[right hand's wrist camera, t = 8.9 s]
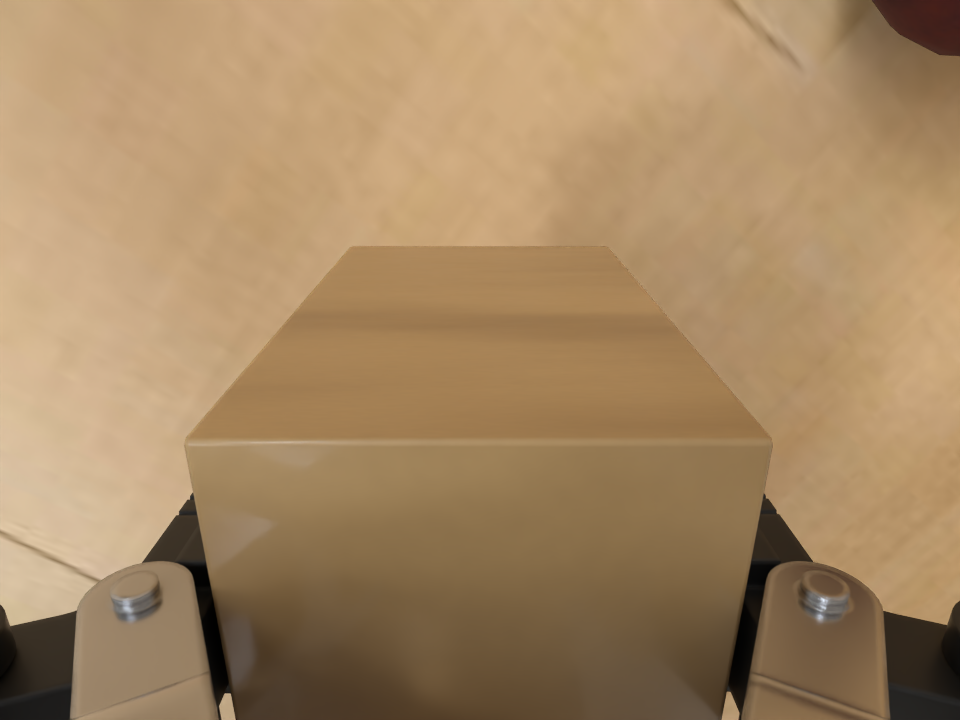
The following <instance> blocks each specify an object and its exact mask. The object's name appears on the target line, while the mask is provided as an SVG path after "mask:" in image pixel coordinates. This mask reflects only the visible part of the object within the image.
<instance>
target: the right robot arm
mask: <svg viewBox="0 0 960 720" xmlns="http://www.w3.org/2000/svg"><path fill="white" fill-rule="evenodd" d="M727 692H731V693H732V696H733V698H734V701H735V703H736V705H737V708H738V710H739V712H740V714H739V719H738V720H960V601H959V602H958V603H956V604H955V606H954V608H953V610H952V613H951V616H950V619H949V622H948V625H943V624H939V623H934V622H930V621H925V620H920V619H916V618H911V617H907V616H902V615H898V614H893V613H889V612H886V611H883V609H882V606H881V603H880V601H879V600H878V598H877V597H876V596H875V594H874V593H873V592H872V591H871V590H870V589H869V588H868V587H867V586H865V585H864V584H863V583H862V582H860V581H859V580H857V579H856V578H854V577H853V576H851V575H849V574H847V573H845V572H843V571H841V570H838V569H836V568H833V567H830V566H827V565H824V564H819V563H815V562H813V561H812V559H811V558H810V557H809V555H808V554H807V552H806V551H805V550H804V548H803V547H802V545H801V544H800V543H799V541H798V540H797V538H796V537H795V536H794V534H793V533H792V531H791V530H790V529H789V527H788V526H787V524H786V523H785V522H784V520H783V519H782V517H781V516H780V515H779V514H777V513H776V509H775V508H774V506H773V505H772V503H771V502H770V501H769V499H766V495H765V494H764V495H763V500H762V505H761V511H760V516H759V521H758V527H757V532H756V537H755V543H754V548H753V553H752V559H751V564H750V569H749V575H748V580H747V585H746V591H745V596H744V602H743V607H742V612H741V618H740V623H739V628H738V634H737V639H736V644H735V650H734V655H733V660H732V666H731V671H730V676H729V682H728V687H727ZM224 693H231V691H230V686H229V680H228V675H227V670H226V664H225V659H224V654H223V648H222V643H221V638H220V632H219V627H218V622H217V616H216V611H215V606H214V600H213V595H212V590H211V584H210V579H209V574H208V568H207V563H206V558H205V552H204V547H203V542H202V536H201V531H200V526H199V520H198V515H197V510H196V504H195V499H194V494H193V493H192V494H191V496H190V500H187V501H186V503H185V504H184V505H183V507H182V508H181V510H180V511H179V515H176V517H175V518H174V519H173V521H172V522H171V523H170V525H169V526H168V528H167V529H166V530H165V532H164V533H163V535H162V536H161V537H160V539H159V540H158V541H157V543H156V544H155V546H154V547H153V548H152V550H151V551H150V553H149V554H148V555H147V557H146V558H145V559H144V561H143V562H142V563H141V564H136V565H133V566H130V567H127V568H124V569H122V570H119V571H117V572H115V573H113V574H111V575H109V576H107V577H106V578H104V579H103V580H101V581H100V582H98V583H97V584H96V585H95V586H93V587H92V588H91V589H90V590H89V591H88V592H87V593H86V594H85V596H84V597H83V598H82V600H81V601H80V603H79V606H78V609H77V611H74V612H71V613H67V614H64V615H60V616H55V617H51V618H46V619H41V620H37V621H32V622H28V623H23V624H19V625H14V626H10V625H9V622H8V619H7V616H6V613H5V610H4V609H3V607H2V606H1V605H0V720H222V719H221V714H220V709H219V705H220V702H221V700H222V698H223V695H224Z"/></svg>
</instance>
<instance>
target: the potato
mask: <svg viewBox="0 0 960 720" xmlns="http://www.w3.org/2000/svg"><path fill="white" fill-rule="evenodd" d="M872 1H873V2H874V4H875V5H876V7H877V8H878V9H879V11H880V12H881V13H882V15H883V16H884V18H885V19H886V20H887V22H888V23H889V25H890V26H891V27H892V28H893V29H895V30H896V31H897V32H898V33H899V34H900V35H902V36H904V37H906V38H908V39H910V40H912V41H914V42H916V43H917V44H919V45H921V46H923V47H925V48H927V49H929V50H931V51H933V52H935V53H937V54H939V55H950V56H960V0H872Z"/></svg>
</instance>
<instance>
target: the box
mask: <svg viewBox="0 0 960 720" xmlns="http://www.w3.org/2000/svg"><path fill="white" fill-rule="evenodd" d="M772 446H773V443H772V439H771V437H770V436H769V435H768V434H767V433H766V431H765V430H764V429H763V428H762V427H761V426H760V424H759V423H758V422H757V421H756V420H755V419H754V417H753V416H752V415H751V414H750V413H749V411H748V410H747V409H746V408H745V407H744V406H743V404H742V403H741V402H740V401H739V400H738V399H737V397H736V396H735V395H734V394H733V393H732V392H731V390H730V389H729V388H728V387H727V386H726V385H725V383H724V382H723V381H722V380H721V379H720V378H719V376H718V375H717V374H716V373H715V372H714V371H713V369H712V368H711V367H710V366H709V365H708V364H707V362H706V361H705V360H704V359H703V358H702V357H701V355H700V354H699V353H698V352H697V351H696V350H695V348H694V347H693V346H692V345H691V344H690V343H689V341H688V340H687V339H686V338H685V337H684V336H683V334H682V333H681V332H680V331H679V330H678V329H677V327H676V326H675V325H674V324H673V323H672V322H671V320H670V319H669V318H668V317H667V316H666V315H665V313H664V312H663V311H662V310H661V309H660V308H659V306H658V305H657V304H656V303H655V302H654V301H653V299H652V298H651V297H650V296H649V295H648V294H647V292H646V291H645V290H644V289H643V288H642V287H641V285H640V284H639V283H638V282H637V281H636V280H635V278H634V277H633V276H632V275H631V274H630V273H629V271H628V270H627V269H626V268H625V267H624V266H623V264H622V263H621V262H620V261H619V260H618V258H617V257H616V256H615V255H614V254H613V253H612V251H611V250H610V249H609V248H608V247H404V246H353V247H350V248H349V249H348V251H347V252H346V253H345V254H344V255H343V256H342V257H341V259H340V260H339V261H338V262H337V263H336V264H335V266H334V267H333V268H332V269H331V270H330V271H329V273H328V274H327V275H326V276H325V277H324V278H323V280H322V281H321V282H320V283H319V284H318V285H317V286H316V288H315V289H314V290H313V291H312V292H311V293H310V295H309V296H308V297H307V298H306V299H305V300H304V302H303V303H302V304H301V305H300V306H299V307H298V309H297V310H296V311H295V312H294V313H293V314H292V315H291V317H290V318H289V319H288V320H287V321H286V322H285V324H284V325H283V326H282V327H281V328H280V329H279V331H278V332H277V333H276V334H275V335H274V336H273V338H272V339H271V340H270V341H269V342H268V343H267V344H266V346H265V347H264V348H263V349H262V350H261V351H260V353H259V354H258V355H257V356H256V357H255V358H254V360H253V361H252V362H251V363H250V364H249V365H248V367H247V368H246V369H245V370H244V371H243V372H242V373H241V375H240V376H239V377H238V378H237V379H236V380H235V382H234V383H233V384H232V385H231V386H230V387H229V389H228V390H227V391H226V392H225V393H224V394H223V395H222V397H221V398H220V399H219V400H218V401H217V402H216V404H215V405H214V406H213V407H212V408H211V409H210V411H209V412H208V413H207V414H206V415H205V416H204V418H203V419H202V420H201V421H200V422H199V423H198V424H197V426H196V427H195V428H194V429H193V430H192V431H191V433H190V434H189V435H188V436H187V437H186V440H185V451H186V456H187V462H188V467H189V472H190V478H191V483H192V488H193V494H194V499H195V504H196V510H197V515H198V520H199V526H200V531H201V536H202V542H203V547H204V552H205V558H206V563H207V568H208V574H209V579H210V584H211V590H212V595H213V600H214V606H215V611H216V616H217V622H218V627H219V632H220V638H221V643H222V648H223V654H224V659H225V664H226V670H227V675H228V680H229V686H230V691H231V696H232V702H233V707H234V712H235V718H236V720H721V719H722V714H723V708H724V703H725V698H726V692H727V687H728V682H729V676H730V671H731V666H732V660H733V655H734V650H735V644H736V639H737V634H738V628H739V623H740V618H741V612H742V607H743V602H744V596H745V591H746V585H747V580H748V575H749V569H750V564H751V559H752V553H753V548H754V543H755V537H756V532H757V527H758V521H759V516H760V511H761V505H762V500H763V495H764V489H765V484H766V478H767V473H768V468H769V462H770V457H771V452H772Z"/></svg>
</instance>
